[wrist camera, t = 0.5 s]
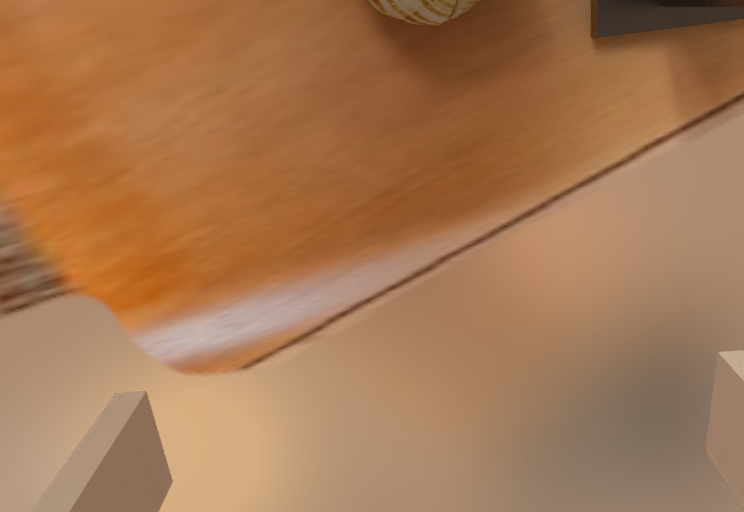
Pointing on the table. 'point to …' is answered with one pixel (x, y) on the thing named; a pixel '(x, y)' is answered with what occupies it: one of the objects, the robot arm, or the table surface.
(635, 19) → the stand
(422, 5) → the seashell
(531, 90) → the table surface
